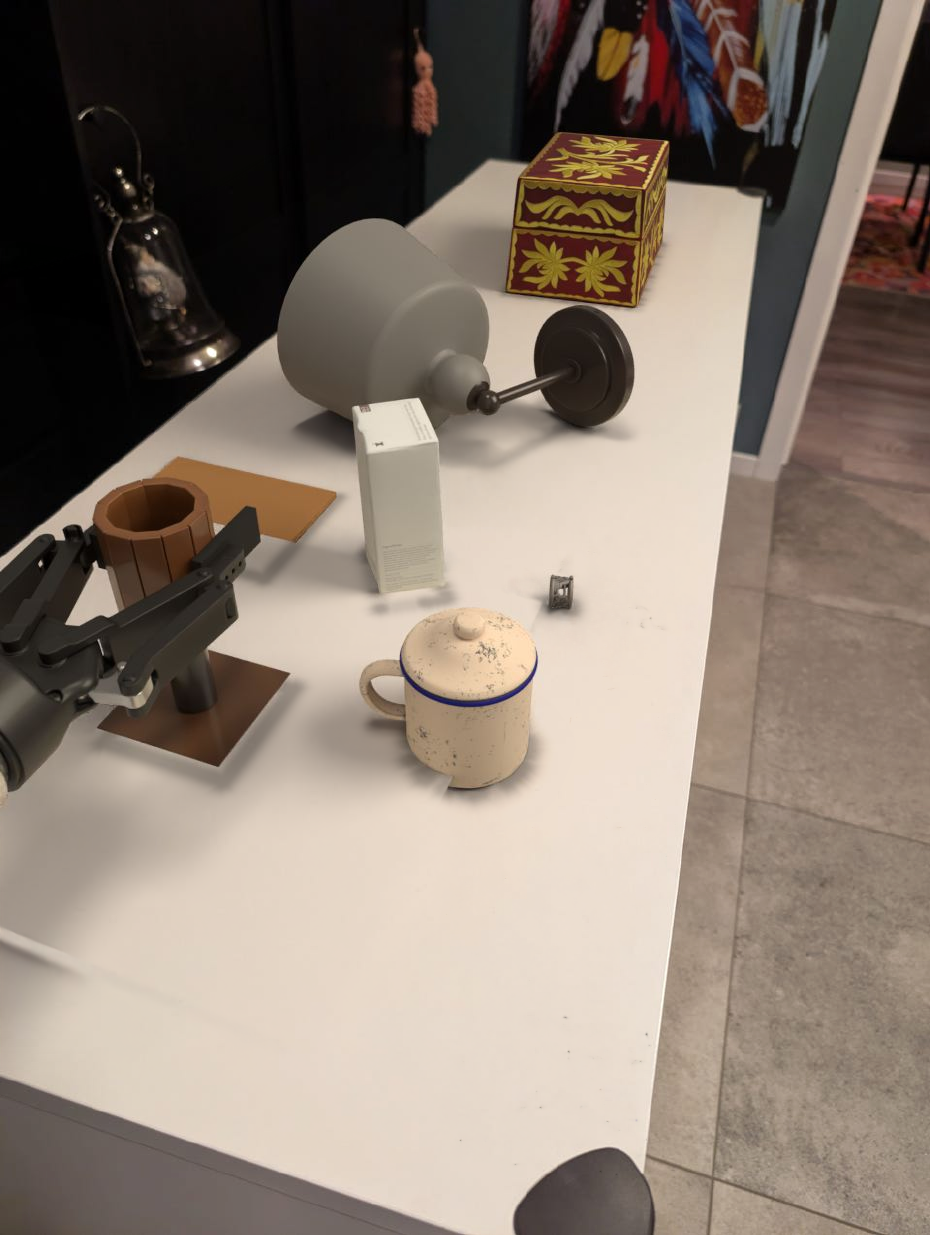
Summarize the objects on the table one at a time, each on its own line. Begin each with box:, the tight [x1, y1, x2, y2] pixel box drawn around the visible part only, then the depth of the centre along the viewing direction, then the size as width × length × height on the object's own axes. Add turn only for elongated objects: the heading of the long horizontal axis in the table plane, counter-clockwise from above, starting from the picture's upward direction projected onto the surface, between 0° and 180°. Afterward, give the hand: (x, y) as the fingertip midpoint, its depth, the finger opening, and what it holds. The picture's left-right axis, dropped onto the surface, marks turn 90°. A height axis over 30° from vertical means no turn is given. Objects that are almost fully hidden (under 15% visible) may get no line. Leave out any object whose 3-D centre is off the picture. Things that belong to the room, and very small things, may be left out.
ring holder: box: [96, 647, 291, 768], centre depth 67 cm, size 10×10×12 cm
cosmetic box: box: [352, 398, 446, 595], centre depth 79 cm, size 8×6×15 cm
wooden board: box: [151, 456, 337, 543], centre depth 90 cm, size 18×14×1 cm
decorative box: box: [505, 131, 670, 308], centre depth 137 cm, size 28×19×15 cm
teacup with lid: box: [358, 606, 539, 789], centre depth 65 cm, size 12×9×12 cm
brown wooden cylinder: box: [91, 477, 216, 612], centre depth 62 cm, size 7×7×9 cm
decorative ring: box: [548, 574, 574, 610], centre depth 80 cm, size 3×2×3 cm
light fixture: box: [276, 217, 636, 430], centre depth 98 cm, size 20×25×27 cm
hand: (204, 512), depth 65 cm, fingers closed on brown wooden cylinder, 7 cm apart
